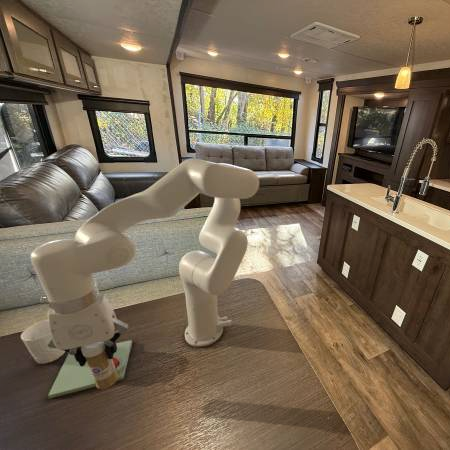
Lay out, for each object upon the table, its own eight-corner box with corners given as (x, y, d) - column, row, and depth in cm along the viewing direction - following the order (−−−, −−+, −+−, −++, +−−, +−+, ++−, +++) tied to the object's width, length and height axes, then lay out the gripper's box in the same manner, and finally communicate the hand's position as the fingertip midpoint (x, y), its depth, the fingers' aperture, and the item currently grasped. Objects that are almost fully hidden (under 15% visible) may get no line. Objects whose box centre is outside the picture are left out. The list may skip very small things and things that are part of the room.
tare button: (119, 360, 72) (118, 355, 71) (116, 369, 69) (115, 365, 68) (106, 363, 70) (104, 359, 70) (102, 373, 68) (101, 369, 67)
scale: (132, 342, 80) (130, 335, 79) (123, 379, 69) (121, 372, 68) (69, 356, 74) (66, 349, 73) (49, 399, 63) (45, 391, 62)
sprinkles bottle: (94, 393, 59) (77, 354, 54) (98, 375, 63) (83, 338, 57) (117, 385, 61) (103, 347, 56) (120, 369, 65) (107, 332, 59)
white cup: (47, 369, 70) (35, 343, 66) (25, 362, 71) (12, 336, 67) (76, 346, 77) (67, 322, 73) (55, 340, 78) (45, 316, 75)
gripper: (9, 320, 45) (44, 384, 52) (120, 300, 51) (137, 360, 59) (31, 293, 51) (59, 354, 58) (127, 279, 57) (142, 335, 65)
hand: (98, 356), depth 58 cm, fingers closed on sprinkles bottle, 4 cm apart
